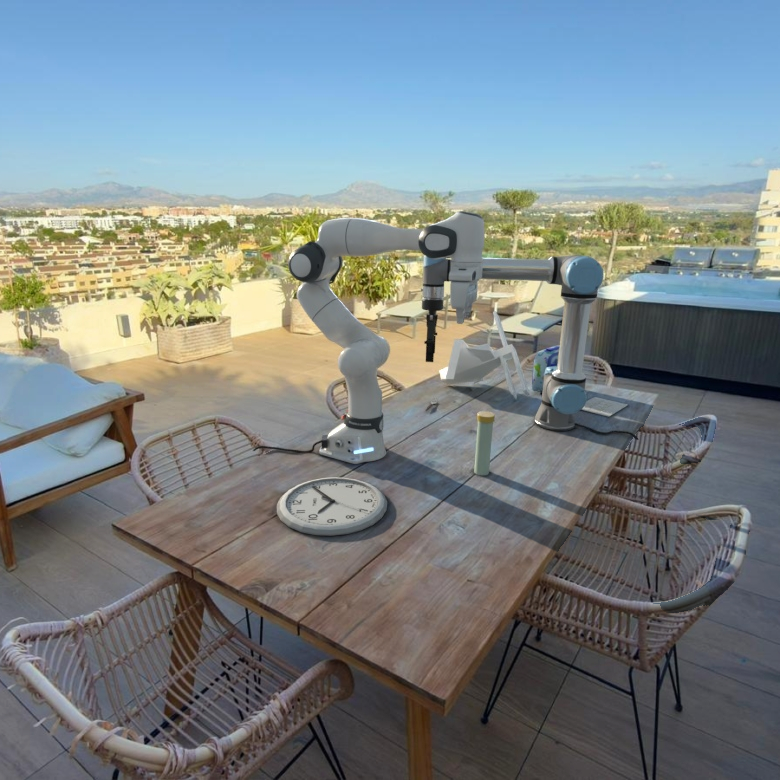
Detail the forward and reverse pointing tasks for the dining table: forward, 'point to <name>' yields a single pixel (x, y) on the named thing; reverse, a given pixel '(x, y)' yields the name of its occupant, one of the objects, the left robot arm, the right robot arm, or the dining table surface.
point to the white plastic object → (482, 362)
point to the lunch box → (543, 366)
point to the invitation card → (603, 406)
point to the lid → (485, 417)
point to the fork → (432, 403)
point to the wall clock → (331, 506)
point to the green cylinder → (483, 448)
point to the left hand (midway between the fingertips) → (463, 320)
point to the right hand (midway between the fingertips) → (430, 357)
